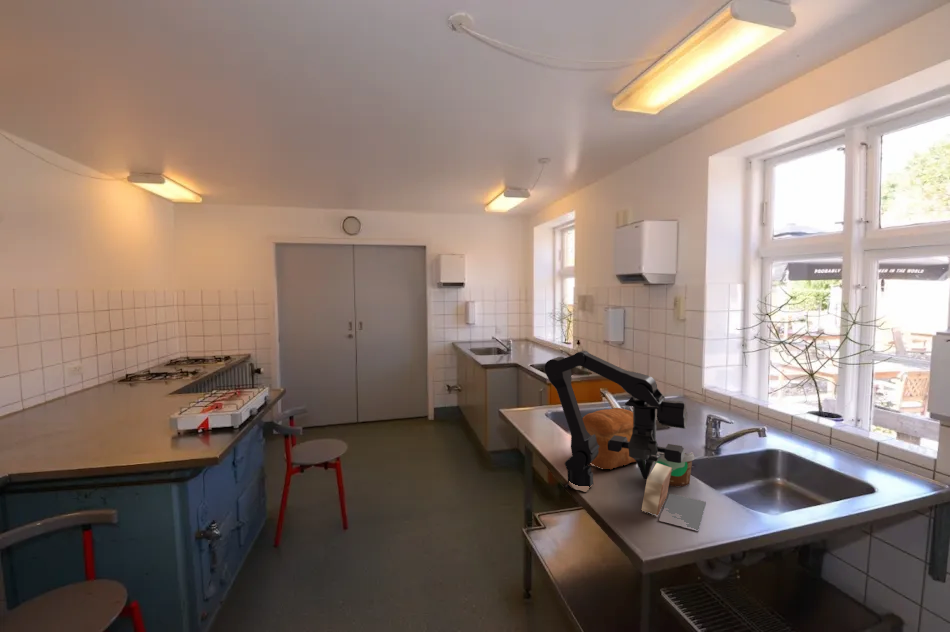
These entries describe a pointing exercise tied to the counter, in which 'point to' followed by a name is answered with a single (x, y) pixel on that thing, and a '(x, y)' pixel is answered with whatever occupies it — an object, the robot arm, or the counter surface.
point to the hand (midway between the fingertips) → (645, 478)
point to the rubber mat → (686, 509)
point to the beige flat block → (656, 488)
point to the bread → (610, 435)
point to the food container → (679, 469)
